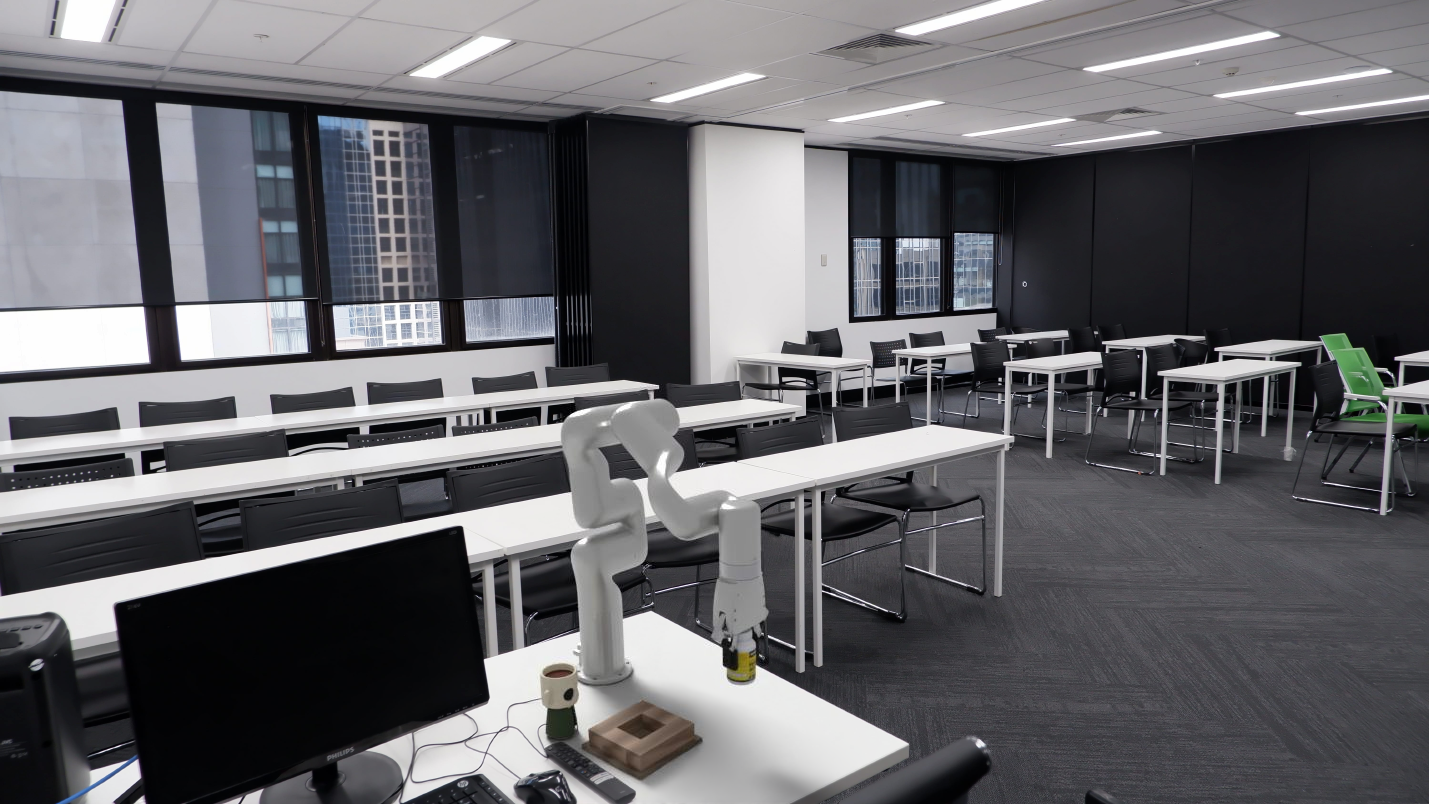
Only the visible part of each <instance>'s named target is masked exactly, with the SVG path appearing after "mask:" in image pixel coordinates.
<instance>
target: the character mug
mask: <svg viewBox="0 0 1429 804" xmlns="http://www.w3.org/2000/svg"><path fill="white" fill-rule="evenodd" d="M576 666H577V665H574V664H573V663H570V662H556V663H551V664H548V665H545V666H544V667H542V668H541V669H540V672H539V679H540V697H541V702H542V706H544V707H545V708H546V709H547V710H546V718H545V719H546V720H545V734H546V735H547V736H548V737H550V738H554V739H558V740H565V739H570V738H572V737H574V736H575V735H576V731H577V732H579V725H578V718H577V713H576V707H575V705H576V704H577V703H578V702H579V697H580V692H579V689H578V682H579V680H578V672H577V668H576Z"/></svg>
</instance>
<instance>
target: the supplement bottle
mask: <svg viewBox="0 0 1429 804" xmlns="http://www.w3.org/2000/svg"><path fill="white" fill-rule="evenodd" d="M729 636H730V635H729ZM728 640H729V641H730V640H731V636H730V638H728ZM735 649H737V650H738V670H736V671H733V670H731V669H728V668H726V679H727V681H728V682H729V683H730V684H731V685H736V686H748V685H751V684H753V683H754V682H755V680H756V678H757V673H756V672H757V669H756V668H757V659H756V643H755V641H754V640H753V639H752V629H751V628H749V629H747V630H745V631H743V632H741V633H739V634H738V637H737V642H736V647H735Z"/></svg>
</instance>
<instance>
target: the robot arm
mask: <svg viewBox="0 0 1429 804" xmlns="http://www.w3.org/2000/svg"><path fill="white" fill-rule="evenodd" d="M680 425H681V419H680V415H679V412H678V410H677V408H676V407H675V406H674V404H673V403H671V402H670V401H668V400H666V399H664V398H655V399H654V398H653V399H648V400H638V401H628V402H621V403H616V404H615V403H614V404H609V405H601V406H600V405H599V406H595V407H589V408H585V409H580V410H577V411H574V412H573V413H571V414H570V415H568V416H567V417H566V418H565V419H564V421H563V423H562V425H561V429H560V442H561V447H562V450H563V454H564V456H565V459H566V463H567V466H568V472H569V484H570V491H571V500H572V502H571V503H572V511H573V516H574V519H575V522H576V524H577V526H578V527H579V528H581V529H584V530H596V529H601V528H604V527H608V526H611V525H615V528H612V529H609V530H608V529H607V530H604V531H600V532H597V533H593V534H590V535H587V536H584V537H583V538H581V539H579V540H578V541H577V542H576V543H575V544H574V546H572V549H571V552H570V559H571V565H572V570H573V574H574V578H575V583H576V591H577V604H578V605H577V608H578V623H579V638H580V639H579V640H580V642H579V643H578V645H577V646H576V647H577V648H574V650H573V651H572V654H573V655H574V656H576V657H578V663H577V664H576V665H575V666H576V668H577V672H578V681H580V682H582V683H585V684H587V685H594V686H595V685H596V686H603V685H612V684H616V683H619V682H620V681H622V680H625V679H626V678H628V676H630V675H631V674H632V671H633V665H632V664H633V663H632V661H631V660H629V659H628V658H627V657H625V638H624V637H625V636H624V616H623V613H624V611H623V598H622V597H623V596H622V592H621V590H620V588H619V586H618V585H617V584H616V583H615V581H614V580H613V576H614V575H617V574H619V573H621V572H625V571H627V570H630V569H633V568H636V567H638V566H640V565H641V564H643V563H644V562H645V560H646V559H647V558H646V557H647V556H648V548H649V546H648V544H649V543H648V534H647V533H648V532H647V524H646V514H645V513H646V512H645V504H644V498H643V494H642V492H641V489H640V488H639V487H638V485H637V484H636V482H634V481H633V480H632V479H630V478H626V477H621V478H620V477H619V478H615V479H611V477H610V467H609V461H608V460H607V459H606V457H605V456H604V454H603V452H602V451H601V450H600V449H599V448H604V447H609V446H615V445H619V444H621V445H622V446H623V447H624V448H625V450H626V451H627V452H628V453H629V454H630V455H631V457H632V458H633V459H634V460H635V462H636V463H637V464H638V465H639V466H640V467H641V468H642V470H643V471H644V472H645V474H646V475H647V476H648V477H647V486H646V487H647V489H646V490H647V496H648V500H649V504H650V507H651V509H652V511H653V513H654V514H655V515H656V517H657V518H658V519H659V521H660V522H661V524H663V526H664V527H665V528H666V529H667V530H668V531H669V532H670V533H671V534H672V535H673V536H675V537H676V538H677V539H679V540H682V541H693V540H696V539H700V538H703V537H706V536H709V535H712V534H718V549H719V551H718V553H719V556H718V557H719V577H718V578H717V579H716V583H715V588H714V596H713V608H712V613H713V614H712V626H713V631H712V633H711V636H710V638H711V639H712V640H713V641H715V642H716V643H717V644H718V645H719V647H720V648H721V649H722V667H724V668H726V669H727V668H728V669H731V670H733V671H736V670H738V650H737V649H735V647H736V642H737V637H738V634H739V633H741V632H743V631H745V630H747V629H749V628H751V629H752V639H753V640H754V641H755V643H756V660H757V659H759V658H760V637H761V636H762V628H763V626H764V624H765V621H766V619H767V616H768V615H769V610H768V609H767V607H766V595H765V586H764V585H765V584H764V578H763V572H762V534H761V533H762V531H761V530H762V525H761V524H762V522H761V521H762V520H761V519H762V517H761V515H762V513H761V508H760V505H759V504H758V503H757V502H756V501H753V500H751V499H743V498H740V497H738V496H736V495H735V494H733V493H731V492H729V491H728V490H723V489H716V490H713V491H709V492H706V493H705V492H704V493H700V494H697V495H693V496H689V497H686V498H683V497H682V496H681V495H680V494H679V492H677V491H676V489H675V488H674V487H673V485H672V484H671V482H670V480H669V478H671V477H672V476H673V475H674V474H675V473H676V472H677V471H678V469H679V468H680V467H681V465H682V463H683V461H684V458H685V450H684V448H683V447H682V445H681V444H680V443H679V442H678V441H677V440H676V439H675V438H674V437H673V436H675V435H676V434H677V433H678V431H679V429H680ZM729 636H731V637H730V638H731V640H730V641H729V639H728V637H729Z"/></svg>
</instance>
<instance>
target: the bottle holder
mask: <svg viewBox="0 0 1429 804" xmlns="http://www.w3.org/2000/svg"><path fill="white" fill-rule="evenodd" d="M587 731H588V740H586V741H585V742H582V744H581V749H582V750H584V751H585V752H588V753H589V754H592V755H593V756H595V757H596V758H599V760H602V761H604V762H605V763H607V764H610V765H612V766H614V767H615V768H617V769H619V770H620V771H623V772H625V773H626V774H628V775H630V776H632V777H634V778H635V779H638V780H640V781H643V779H645V778H647V777H648V776H650V775H652V774H654V773H655V772H656V771H658V770H660V769H661V768H663V767H664V766H666V765H667V764H669V763H670V762H673V760H676V759H677V758H679V757H680V756H682V755H683V754H685V753H686V752H689V750H691V749H692V748H695V747H697V745H699V744H701V743H702V742H703V737H702V736H699V735H697V734H695V733H696V732H695V722H692V721H691V720H688V719H686V718H684V717H681V716H679V715H677V714H675V713H673V712H671V711H669V710H666V709H663V708H661V707H659V706H657V705H655V704H653V703H650V702H648V701H646V700H644V699H642V700H640V701H638V702H636V703H634V704H632V705H630V706H628V707H627V708H625V709H623V710H621V711H619V712H617V713H616V714H614V715H612V716H610V717H607V718H606V719H604V720H603V721H601V722H598V723H597V724H595V725H593V726H591V727H589V728H588V729H587Z"/></svg>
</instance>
